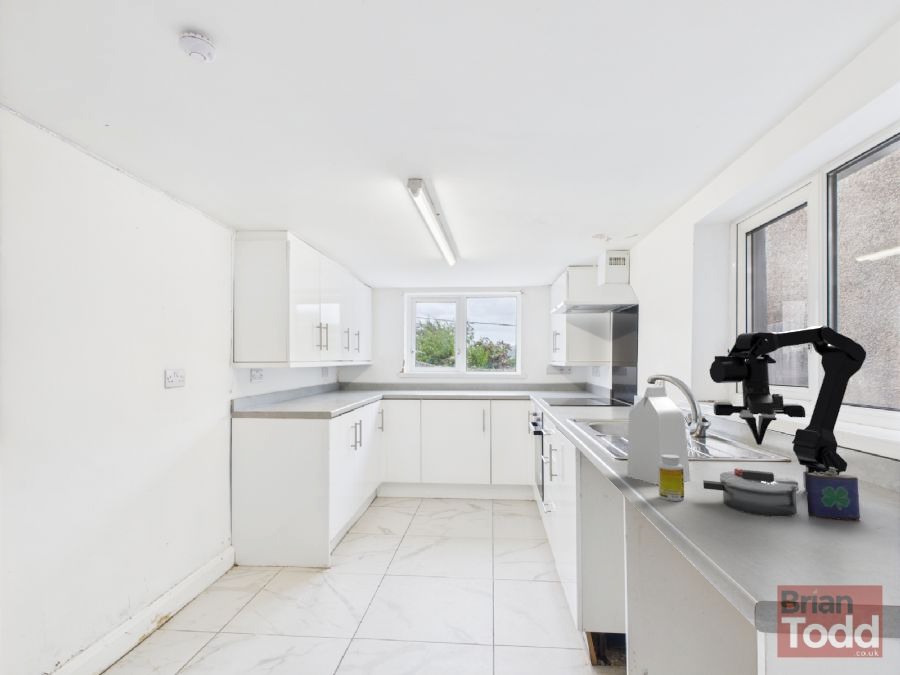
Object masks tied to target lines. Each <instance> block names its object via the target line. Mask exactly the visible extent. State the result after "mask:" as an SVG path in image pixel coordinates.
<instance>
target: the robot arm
mask: <svg viewBox="0 0 900 675" xmlns="http://www.w3.org/2000/svg"><path fill="white" fill-rule="evenodd" d="M805 344H812V347H813V349H814V351H815V352H816V353H817V354H818V355H819V356H821V359H820V360H821V362H820V364H821V368H822V369H823V372H824V376H823V379H822V382H821V386H820V388H819V392H818V394H817V399H816V401H815V405H814V407H813V410H812V415H811V416H810V421H809V424H808V425H807V426H806V427H805V428H804V429H803V428H797V429H796V430H795V435H794V439H792V441H791V444H793V446H792V450H793V453H794V454H795V456H796V458H797V462H798V464H799V466H804V467H805V471H802V473H803V474H802V475H803V488H804V489H805V490H806V491H807V485H806V474H807V473H814V471H816V472H817V473H819V472H826V471H829V469H830V468H829V467H834V468H835V469H838V470H836V472H837V474H836V475H840V473H843V472H846V471H847V467H848V462H847V461H846V460H845V459H844V458H843V457H842V456H841V455H840V454H839V453H838V452H837V451H838V441H837V439H836V436H835V432H834V430H835V427H836V424H837V421H838V417H839V413H840V411H841V407H842V405H843V404H842V403H843V401H844V397H845V394H846V390H847V388H848V384H849V381H850V379H851V378H852V377H853V376H855V374H856V373H857V372H859V371H860V370H861V368H862V366H863V364H864V363H865V361H866V359H867V352H866V350H865V349H864V347H863V346H862V345H861V344H860V343H859V342H856V341H855V340H853V339H852V338H850V337H848V336H846V335H844V334H841V333H840V332H838V331H835V330H834V329H833V328H831V327H829V326H827V325H818V326H817V325H816V326H810V327H808V328H802V329H794V330H788V331H781V332H773V331H753V332H743V333H740V334H738V335H737V337H736V339H735V343H734V345H733V346H732V348H731V349H730V351H729V352H728V354H727V356H726V355H715V356H714V361H713V362H711V365H710V367H709V375H710V378H711V380H712V381H713V382H714V383H715V384H716V383H717V384H728V383H729V384H732V383H733V384H735V383H741V388H742V405H733V403H731V402H715V403H714V404H713V414H714V415H715V416H720V417H721V416H723V417H724V416H726V417H731V416H732V415H733V414H739V418H740V419H741V420H744V421H745V422H746V423H747V424H746V425H747V426H748V427H749V429H750V432H751V434H752V436H753V438H754V441H755V443H756V445H757V446H761V445H762V443H763V440H764V439H765V438H764V437H765V434H766V431H767V429H768V427H769V425H770V424H771V422H773V421H777V419H778V418H777V417H776V415H787V416H788V417H789V418H806V409H805V407H804V406H803V405H802V404H798V403H784V396H783V394H782V393H772V394H771V390H770V382H769V381H770V378H769V377H770V376H769V364H776V363H777V360H776V359H774V358H773V357H771V356H770V353H773V352H775V351H777V350H779V349H780V348H781V349H782V348H786V347H791V346H797V345H798V346H799V345H805ZM754 415H758V424H757V418H756V417H755V416H754ZM819 474H823V473H819Z"/></svg>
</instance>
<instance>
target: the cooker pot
mask: <svg viewBox="0 0 900 675" xmlns="http://www.w3.org/2000/svg"><path fill="white" fill-rule="evenodd" d="M702 484H703V489H705V490H711V491H712V490H714V491H722V497H723V498H722V501H723V502H722V503H723V504H724V505H725V506H726V507H728V508H730V509H732V510H734V511H738V512H742V513H746V514H749V513H750V515H755V514H756V516H761V515H763V516H762V517H771V516H787V517H793V516H795V515H797V513H798V512H797V511H798V510H797V492H793V493H763V492H755V491H748V490H743V489H738V488H734V487H731V486H728V485H725V484H723V483H722V482H721V481H714V480H713V481H712V480H703V482H702ZM792 515H793V516H792Z"/></svg>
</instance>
